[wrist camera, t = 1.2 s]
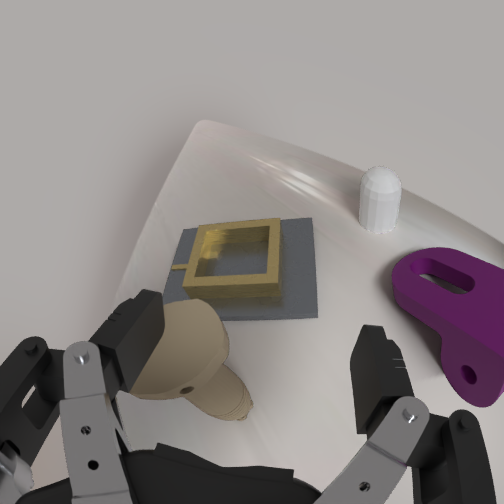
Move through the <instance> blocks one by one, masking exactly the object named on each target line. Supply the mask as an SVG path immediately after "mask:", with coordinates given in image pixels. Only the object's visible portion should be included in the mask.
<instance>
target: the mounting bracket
mask: <svg viewBox="0 0 504 504" xmlns="http://www.w3.org/2000/svg"><path fill="white" fill-rule="evenodd" d="M421 274H433V275H435V276H437V277H439V278H441V279H443V280H445V281H447V282H449V283H451V284H453V285H455V286H457V287H459V288H461V289H463V290H465V291H467V292H468V293H465V294H455V293H452V292H450V291H448V290H446V289H444V288H442V287H440V286H439V285H437V284H435V283H433V282H431V281H429V280H427V279H425V278H423V277H421V276H419V275H421ZM392 284H393V291H394V297H395V300H396V302H397V303H398V305H399V306H400V307H401V308H403V309H404V310H405V311H407V312H408V313H410V314H411V315H413V316H414V317H416V318H417V319H419V320H420V321H422V322H423V323H425V324H426V325H428V326H429V327H431V328H432V329H434V330H435V331H436V332H438V333H439V335H440V336H441V339H442V347H441V364H442V368H443V371H444V374H445V376H446V378H447V380H448V382H449V383H450V385H451V386H452V388H453V389H454V390H455V392H457V394H458V395H459V396H460V397H461V398H462V399H464V400H465V401H466V402H468V403H470V404H472V405H474V406H477V407H488V406H491V405H492V404H493V403H494V402H495V401H496V400H497V399H498V398H499V397H500V395H501V394H502V393H503V392H504V269H501V268H499V267H497V266H495V265H492V264H490V263H487V262H485V261H483V260H480V259H478V258H475V257H473V256H471V255H468V254H466V253H463V252H461V251H458V250H455V249H451V248H442V247H436V248H427V249H422V250H419V251H416V252H413V253H411V254H409V255H407V256H406V257H404V258H403V259H401V260H400V261H399V262H398V263H397V264H396V266H395V267H394V269H393V271H392Z"/></svg>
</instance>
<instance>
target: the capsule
mask: <svg viewBox="0 0 504 504" xmlns="http://www.w3.org/2000/svg"><path fill="white" fill-rule="evenodd" d="M401 194H402V190H401V182H400V179H399V177H398V176H397V175H396V173H395V172H394V171H393V170H391V169H389V168H387V167H383V166H378V167H373V168H371V169H369V170H368V171H367V172H366V173H365V174H364V175H363V177H362V180H361V183H360V207H359V222H360V224H361V226H362V227H363V228H365V229H366V230H367V231H370V232H372V233H378V234H383V233H388V232H390V231H391V230H393V229H394V228H395V226H396V223H397V218H398V212H399V206H400V200H401Z"/></svg>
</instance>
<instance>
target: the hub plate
mask: <svg viewBox="0 0 504 504" xmlns="http://www.w3.org/2000/svg"><path fill="white" fill-rule="evenodd" d="M162 298H163V305H165V304H168V303H172V302H177V301H184V300H192V299H199V300H202V301H204V302H206V303H207V304H209V305H210V306H211V307H212V308H213V309H214V310H215V312H216V313H217V315H218V316H219V318H220V320H221V321H239V320H281V319H304V318H318V307H317V284H316V267H315V251H314V237H313V225H312V218H300V219H288V220H280V218H272V219H261V220H250V221H239V222H229V223H219V224H209V225H200V226H199V227H198V228H192V229H184V230H183V233H182V236H181V239H180V242H179V245H178V248H177V251H176V254H175V257H174V260H173V264H172V267H171V270H170V273H169V277H168V280H167V283H166V287H165V290H164V293H163V297H162Z"/></svg>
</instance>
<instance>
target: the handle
mask: <svg viewBox="0 0 504 504" xmlns="http://www.w3.org/2000/svg"><path fill="white" fill-rule="evenodd" d="M163 308H164V318H165V329H164V333H163V336H162V338H161V339H160V341H159V343H158V344H157V346H156V348H155V349H154V351H153V353H152V354H151V356H150V358H149V359H148V361H147V363H146V365H145V366H144V368H143V370H142V371H141V373H140V375H139V377H138V378H137V380H136V382H135V383H134V385H133V387H132V389H131V390H130V392H129V393H130V394H132V395H134V396H136V397H138V398H140V399H150V400H166V399H174V398H179V397H184V398H186V399H187V400H188V401H190V402H191V403H192V404H194V405H195V406H196V407H198V408H199V409H200V410H202V411H203V412H205V413H207V414H208V415H210V416H213V417H215V418H218V419H222V420H238V421H242V420H244V419H246V418H247V414H248V412H249V410H250V409H251V408H253V402H252V400H250V395H249V392H248V390H247V388H246V386H245V385H244V383H243V382H242V381H241V379H240V378H239V377H238V376H237V375H236V374H235V373H234V372H232V371H231V370H230V369H229V368H228V367H227V366H225V365H224V364H223V362H224V361H225V359H226V358H227V356H228V353H229V339H228V334H227V332H226V329H225V327H224V325H223V323H222V321H221V320H220V318H219V316H218V315H217V313H216V312H215V310H214V309H213V308H212V307H211V306H210V305H209V304H207V303H206V302H204V301H202V300H199V299H192V300H184V301H177V302H172V303H168V304H165V305H163Z"/></svg>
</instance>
